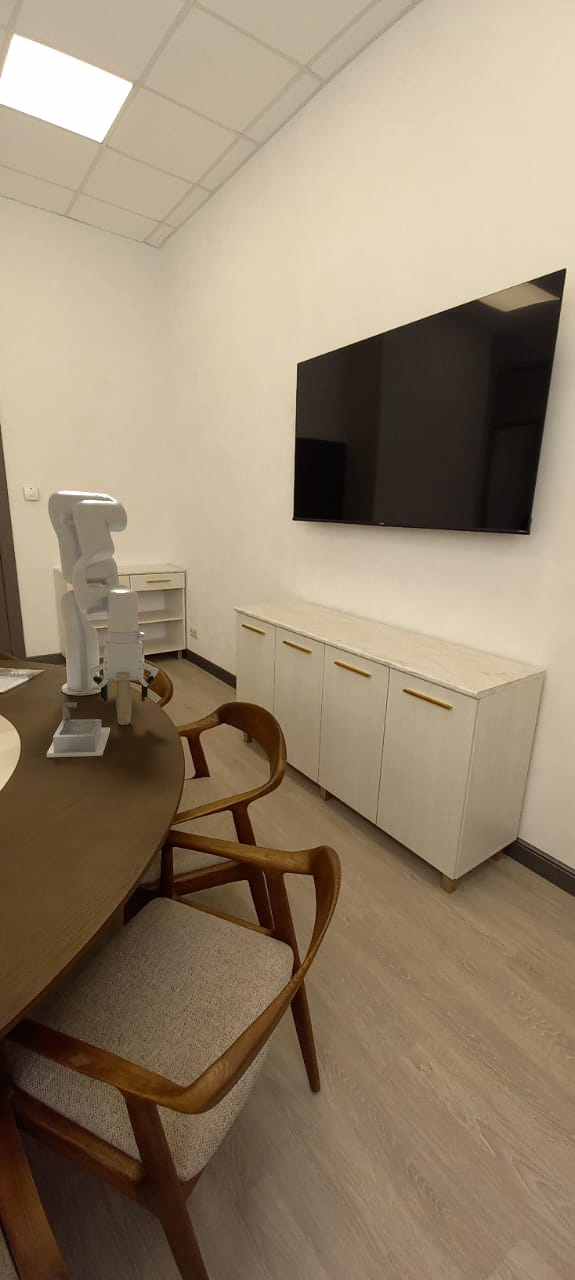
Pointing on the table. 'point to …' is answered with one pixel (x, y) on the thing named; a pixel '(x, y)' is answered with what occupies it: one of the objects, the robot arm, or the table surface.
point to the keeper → (78, 736)
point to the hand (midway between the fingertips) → (124, 699)
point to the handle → (123, 699)
